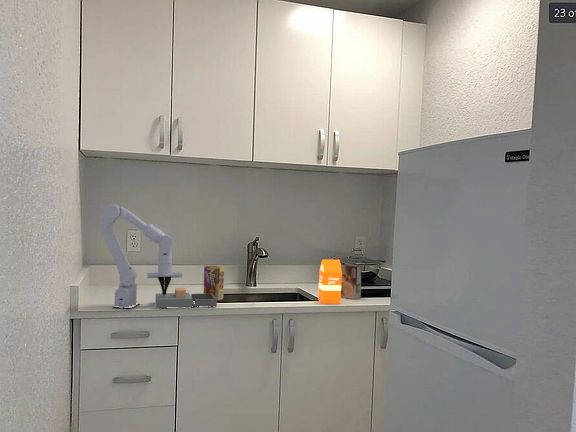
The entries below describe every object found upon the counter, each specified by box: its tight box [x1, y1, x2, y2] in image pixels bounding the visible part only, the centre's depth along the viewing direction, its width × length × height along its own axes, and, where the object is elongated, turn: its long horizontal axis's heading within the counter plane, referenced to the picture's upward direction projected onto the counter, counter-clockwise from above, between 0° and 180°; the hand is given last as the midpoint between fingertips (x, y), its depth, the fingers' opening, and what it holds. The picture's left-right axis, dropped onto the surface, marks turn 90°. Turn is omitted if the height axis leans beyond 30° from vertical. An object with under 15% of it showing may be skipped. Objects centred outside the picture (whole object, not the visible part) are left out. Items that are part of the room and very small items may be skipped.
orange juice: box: [317, 259, 342, 304], centre depth 241 cm, size 8×9×20 cm
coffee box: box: [340, 263, 362, 300], centre depth 253 cm, size 9×6×16 cm
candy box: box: [203, 264, 225, 301], centre depth 238 cm, size 9×4×15 cm, turn 62°
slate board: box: [155, 292, 193, 309], centre depth 222 cm, size 14×13×4 cm
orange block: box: [174, 287, 187, 297], centre depth 222 cm, size 4×6×3 cm, turn 18°
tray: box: [190, 292, 218, 308], centre depth 225 cm, size 10×13×4 cm
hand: (164, 294), depth 220 cm, fingers closed
